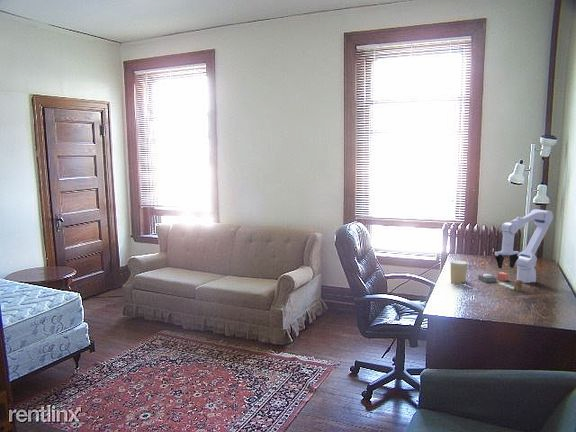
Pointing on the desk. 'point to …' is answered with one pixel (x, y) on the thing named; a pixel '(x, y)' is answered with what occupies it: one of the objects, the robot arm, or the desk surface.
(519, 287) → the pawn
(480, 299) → the desk surface
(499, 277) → the die
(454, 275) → the coffee cup
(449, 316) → the desk surface
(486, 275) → the dome
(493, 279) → the board
